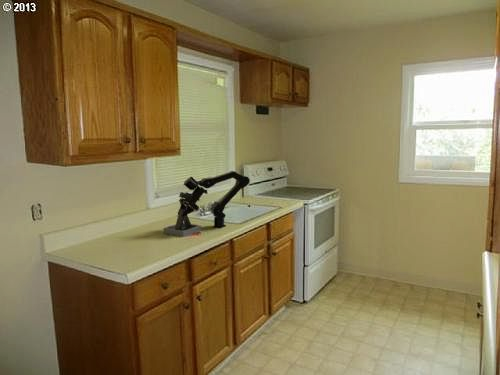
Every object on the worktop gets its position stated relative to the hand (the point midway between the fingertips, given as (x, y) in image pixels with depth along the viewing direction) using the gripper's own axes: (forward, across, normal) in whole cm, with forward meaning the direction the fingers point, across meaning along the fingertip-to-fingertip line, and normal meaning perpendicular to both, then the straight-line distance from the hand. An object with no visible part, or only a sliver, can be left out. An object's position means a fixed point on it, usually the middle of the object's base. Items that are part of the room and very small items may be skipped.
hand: (180, 215), depth 221 cm
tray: (+6, 0, +8) cm, 10 cm away
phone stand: (+5, 0, +8) cm, 9 cm away
